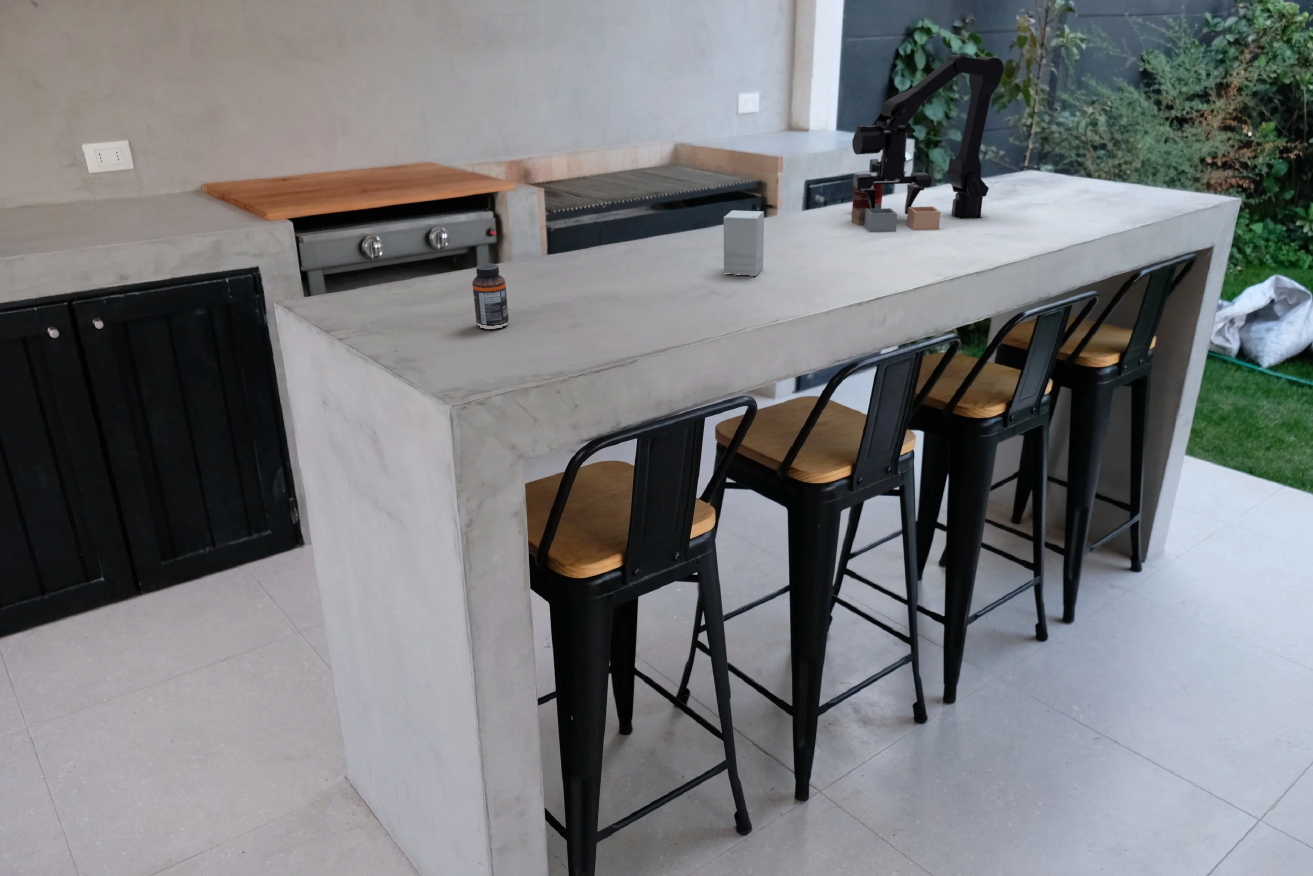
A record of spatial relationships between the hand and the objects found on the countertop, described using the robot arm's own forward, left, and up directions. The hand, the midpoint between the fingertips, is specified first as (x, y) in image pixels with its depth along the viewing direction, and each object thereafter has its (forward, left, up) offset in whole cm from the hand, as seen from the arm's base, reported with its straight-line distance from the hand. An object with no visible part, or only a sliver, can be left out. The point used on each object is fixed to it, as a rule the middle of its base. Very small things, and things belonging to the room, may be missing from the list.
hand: (889, 214), depth 254 cm
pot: (-7, +7, -2) cm, 10 cm away
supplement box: (+42, +44, -3) cm, 61 cm away
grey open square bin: (+4, +8, -2) cm, 9 cm away
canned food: (+3, -12, -3) cm, 13 cm away
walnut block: (+7, +1, -2) cm, 8 cm away
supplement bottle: (+92, +78, -3) cm, 121 cm away
